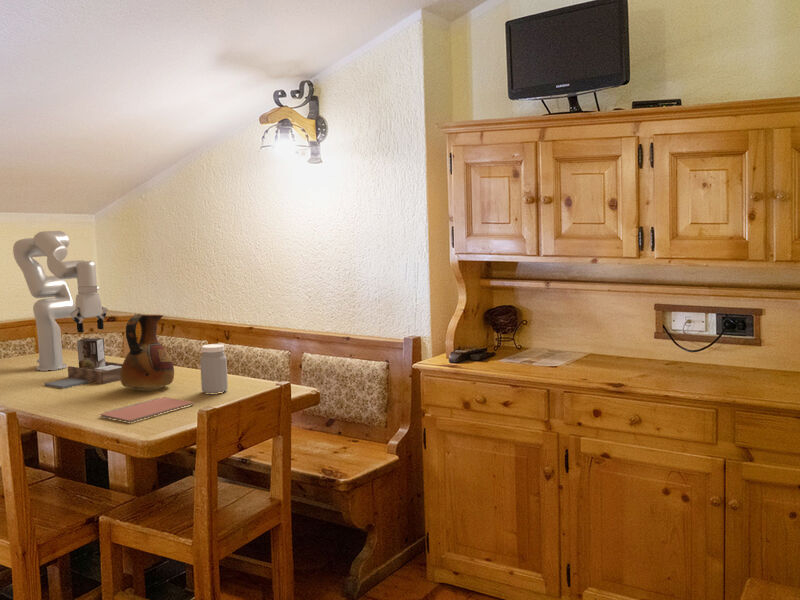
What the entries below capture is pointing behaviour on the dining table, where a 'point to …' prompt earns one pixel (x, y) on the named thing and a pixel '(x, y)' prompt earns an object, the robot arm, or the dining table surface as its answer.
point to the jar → (213, 369)
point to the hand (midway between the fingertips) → (90, 330)
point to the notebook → (145, 409)
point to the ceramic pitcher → (146, 357)
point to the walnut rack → (96, 374)
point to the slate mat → (66, 383)
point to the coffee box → (91, 353)
